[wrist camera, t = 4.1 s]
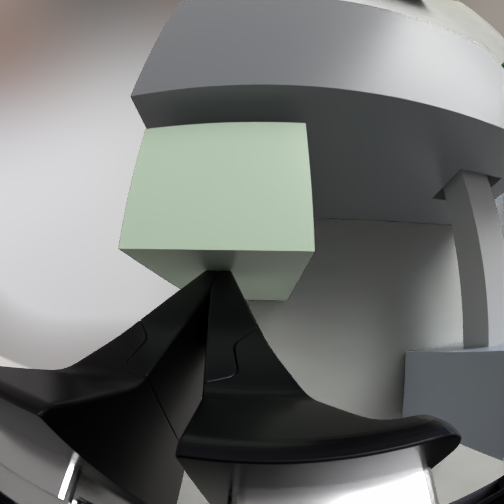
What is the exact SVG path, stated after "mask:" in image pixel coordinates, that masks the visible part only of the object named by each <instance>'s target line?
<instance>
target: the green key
mask: <svg viewBox="0 0 504 504" xmlns="http://www.w3.org/2000/svg"><path fill="white" fill-rule="evenodd" d="M119 249H120V250H121V251H123V252H124V253H126V254H127V255H129V256H130V257H132V258H133V259H134V260H136V261H138V262H139V263H140V264H142V265H144V266H145V267H147V268H148V269H150V270H152V271H153V272H154V273H156V274H157V275H159V276H160V277H162V278H164V279H165V280H167V281H168V282H170V283H171V284H173V285H175V286H176V287H178V288H179V289H182V288H183V287H184V286H186V285H187V284H188V283H190V282H191V281H192V280H194V279H195V278H196V277H198V276H199V275H200V274H202V273H203V272H204V271H206V270H216V271H220V270H223V271H231V272H232V274H233V276H234V278H235V280H236V282H237V284H238V286H239V288H240V290H241V292H242V294H243V296H244V298H245V300H287V299H288V297H289V296H290V294H291V292H292V291H293V289H294V287H295V285H296V284H297V282H298V280H299V279H300V277H301V275H302V273H303V271H304V270H305V268H306V266H307V264H308V263H309V261H310V259H311V257H312V255H313V254H314V252H315V243H314V222H313V204H312V189H311V175H310V163H309V152H308V141H307V131H306V123H291V122H226V123H205V124H190V125H178V126H167V127H158V128H150V129H145V132H144V136H143V139H142V143H141V146H140V150H139V154H138V157H137V161H136V166H135V169H134V173H133V177H132V181H131V186H130V191H129V195H128V200H127V204H126V209H125V214H124V219H123V225H122V230H121V236H120V242H119Z"/></svg>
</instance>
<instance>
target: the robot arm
mask: <svg viewBox="0 0 504 504" xmlns="http://www.w3.org/2000/svg"><path fill="white" fill-rule="evenodd" d="M201 397H202V399H201ZM200 401H201V402H200ZM461 439H462V437H461V435H460V433H459V432H458V431H457V430H456V429H455V428H454V427H453V426H452V425H451V424H449V423H448V422H446V421H444V420H442V419H439V418H436V417H434V416H431V415H426V414H425V415H415V416H409V417H405V418H400V419H392V420H377V419H369V418H365V417H362V416H359V415H355V414H352V413H349V412H347V411H344V410H341V409H338V408H335V407H332V406H329V405H327V404H324V403H321V402H319V401H316V400H314V399H313V398H311V397H310V396H309V395H307V394H306V393H305V392H304V391H303V389H302V388H301V387H300V386H299V385H298V383H297V382H296V381H295V380H294V378H293V377H292V376H291V374H290V373H289V372H288V371H287V369H286V368H285V367H284V366H283V364H282V363H281V362H280V360H279V359H278V358H277V356H276V355H275V353H274V352H273V351H272V349H271V348H270V346H269V345H268V343H267V341H266V339H265V338H264V336H263V334H262V332H261V330H260V328H259V326H258V324H257V322H256V320H255V318H254V316H253V314H252V312H251V310H250V308H249V306H248V304H247V302H246V300H245V298H244V296H243V294H242V292H241V290H240V288H239V286H238V284H237V282H236V280H235V278H234V276H233V274H232V272H231V271H223V270H220V271H216V270H206V271H204V272H203V273H202V274H200V275H199V276H198V277H196V278H195V279H194V280H192V281H191V282H190V283H188V284H187V285H186V286H184V287H183V288H182V289H180V290H179V291H178V292H177V293H175V294H174V295H173V296H172V297H170V298H169V299H167V300H166V301H165V302H163V303H162V304H161V305H160V306H158V307H157V308H156V309H154V310H153V311H152V312H150V313H149V314H148V315H146V316H145V317H144V318H142V319H141V321H138V322H137V323H136V324H135V325H133V326H132V327H131V328H129V329H128V330H127V331H125V332H124V333H122V334H121V335H120V336H118V337H117V338H115V339H114V340H112V341H111V342H109V343H108V344H106V345H104V346H103V347H101V348H100V349H98V350H97V351H95V352H93V353H92V354H90V355H89V356H87V357H86V358H84V359H82V360H81V361H79V362H77V363H76V364H74V365H72V366H70V367H67V368H64V369H60V370H40V369H24V368H12V367H2V366H0V504H177V500H178V496H179V491H180V487H181V482H182V478H183V474H184V470H185V472H186V473H187V474H188V476H189V477H190V479H191V480H192V481H193V483H194V484H195V485H196V487H197V488H198V489H199V491H200V492H201V493H202V494H203V496H204V497H205V498H206V499H207V501H208V502H209V503H210V504H439V502H438V497H437V493H436V488H435V484H434V480H433V476H432V472H431V469H432V468H433V467H434V466H436V465H437V464H438V463H439V462H441V461H442V460H443V459H444V458H445V457H447V456H448V455H449V454H450V453H451V452H452V451H454V450H455V449H456V448H457V446H458V445H459V444H460V442H461ZM449 504H504V476H502V477H500V478H499V479H497V480H495V481H494V482H492V483H490V484H488V485H487V486H485V487H483V488H481V489H479V490H477V491H475V492H473V493H471V494H469V495H467V496H465V497H463V498H461V499H459V500H456V501H454V502H452V503H449Z"/></svg>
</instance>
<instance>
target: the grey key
mask: <svg viewBox="0 0 504 504" xmlns="http://www.w3.org/2000/svg"><path fill="white" fill-rule="evenodd" d="M443 190H444V194H445V198H446V202H447V206H448V210H449V215H450V220H451V224H452V230H453V235H454V241H455V247H456V253H457V260H458V267H459V275H460V285H461V296H462V311H463V343H459V344H453V345H447V346H441V347H435V348H428V349H421V350H413V351H406V359H405V384H404V399H403V411H402V417H404V418H405V417H409V416H415V415H425V414H426V415H431V416H434V417H436V418H439V419H442V420H444V421H446V422H448V423H449V424H451V425H452V426H453V427H454V428H455V429H456V430H457V431H458V432H459V433H460V435H461V437H462V439H461V442H460V444H462V445H464V446H467V447H469V448H472V449H474V450H476V451H479V452H481V453H484V454H486V455H489V456H491V457H494V458H497V459H499V460H502V461H504V237H503V233H502V228H501V224H500V219H499V215H498V212H497V208H496V204H495V200H494V197H493V194H492V190H491V187H490V184H489V181H488V178H487V175H486V174H482V173H477V172H473V171H468V170H463V169H460V170H459V171H458V172H457V174H456V175H455V176H454V177H453V178H452V179H451V180H450V181H449V182H448V183H447V184H446V185H445V186H444V187H443Z"/></svg>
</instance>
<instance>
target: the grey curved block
mask: <svg viewBox="0 0 504 504" xmlns="http://www.w3.org/2000/svg"><path fill="white" fill-rule="evenodd" d="M131 98H132V100H133V102H134V104H135V106H136V108H137V110H138V112H139V114H140V116H141V118H142V120H143V122H144V124H145V126H146V128H147V129H150V128H158V127H167V126H178V125H190V124H205V123H226V122H291V123H306V131H307V141H308V152H309V163H310V175H311V189H312V204H313V218H329V219H356V220H378V221H398V222H415V223H431V224H445V225H452V224H451V220H450V215H449V210H448V206H447V202H446V198H445V194H444V190H443V187H444V186H445V185H446V184H447V183H448V182H449V181H450V180H451V179H452V178H453V177H454V176H455V175H456V174H457V172H458V171H459V170H460V169H463V170H468V171H473V172H477V173H482V174H486V175H487V178H488V181H489V184H490V187H491V190H492V194H493V197H494V199H496V198H497V197H498V196H499V195H501V194H502V193H503V192H504V68H503V67H502V66H501V64H500V63H499V62H498V60H497V59H496V58H495V56H494V55H493V54H492V53H491V51H490V50H489V49H488V48H487V47H485V46H483V45H481V44H479V43H477V42H475V41H473V40H471V39H469V38H466V37H464V36H462V35H460V34H457V33H455V32H453V31H450V30H448V29H445V28H443V27H440V26H437V25H435V24H432V23H429V22H426V21H423V20H420V19H417V18H414V17H411V16H408V15H404V14H401V13H397V12H393V11H390V10H386V9H382V8H377V7H373V6H368V5H363V4H358V3H353V2H347V1H341V0H187V1H180V2H179V3H178V4H177V6H176V8H175V9H174V11H173V12H172V14H171V16H170V18H169V19H168V21H167V23H166V24H165V26H164V28H163V30H162V32H161V34H160V35H159V37H158V39H157V41H156V43H155V45H154V47H153V49H152V51H151V53H150V55H149V57H148V59H147V61H146V63H145V65H144V67H143V69H142V71H141V74H140V76H139V78H138V80H137V82H136V85H135V87H134V89H133V92H132V94H131Z"/></svg>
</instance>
